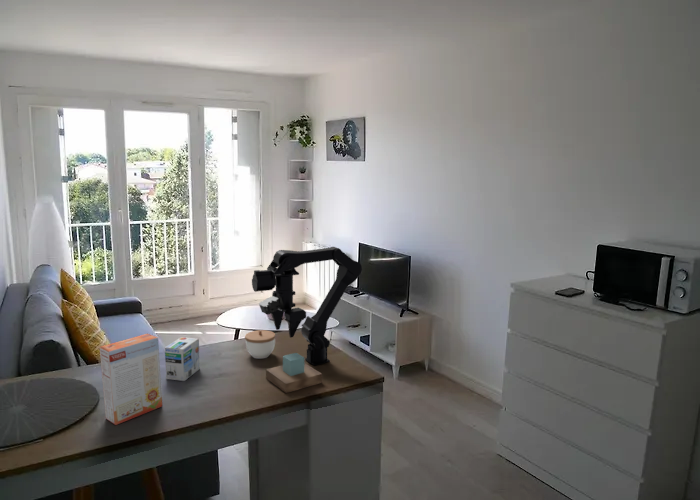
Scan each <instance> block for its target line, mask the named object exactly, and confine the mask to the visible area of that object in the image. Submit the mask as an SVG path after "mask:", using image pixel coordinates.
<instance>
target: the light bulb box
mask: <svg viewBox="0 0 700 500" xmlns="http://www.w3.org/2000/svg"><path fill="white" fill-rule="evenodd" d="M164 358H165V359H164V360H165V378H166V380H172V381H174V380H175V381H181V382H185V381H186V380H188V378H189V379H190V377H191V376H192V375H195V373H197V372H198V371H200V369H201V368H200V367H201V365H200V364H201V363H200V339H199V338H194V337H186V336H185V337H183V336H180V337H179V338H177V339H176V340H174V341H173V342H171V343H169V344H168V345H166V346H165V347H164Z"/></svg>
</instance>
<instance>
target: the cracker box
mask: <svg viewBox="0 0 700 500" xmlns="http://www.w3.org/2000/svg"><path fill="white" fill-rule="evenodd" d="M159 346H160V345H159V337H157V336H155V335H152V334H150V333H145V334H140V335H138V336H133V337H130V338H127V339H124V340H123V339H122V340H120V341H116V342H112V343H108V344H105V345H101V346H99V358H100V367H101V369H100V370H101V379H102V381H101V382H102V390H103V399H104V400H103V402H104V413H105V419H106V420H108V421H109V422H110V423H112V424H113V425H115V426H118V425H119V424H123V423H124V422H127V421H130V420H131V419H135V418H137V417H139V416H142V415H145V414H147V413H149V412H152V411H155V410H157V409H159V408H162V407H163V395H162V394H163V393H162V378H161V361H160V350H159V349H160V347H159Z"/></svg>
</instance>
